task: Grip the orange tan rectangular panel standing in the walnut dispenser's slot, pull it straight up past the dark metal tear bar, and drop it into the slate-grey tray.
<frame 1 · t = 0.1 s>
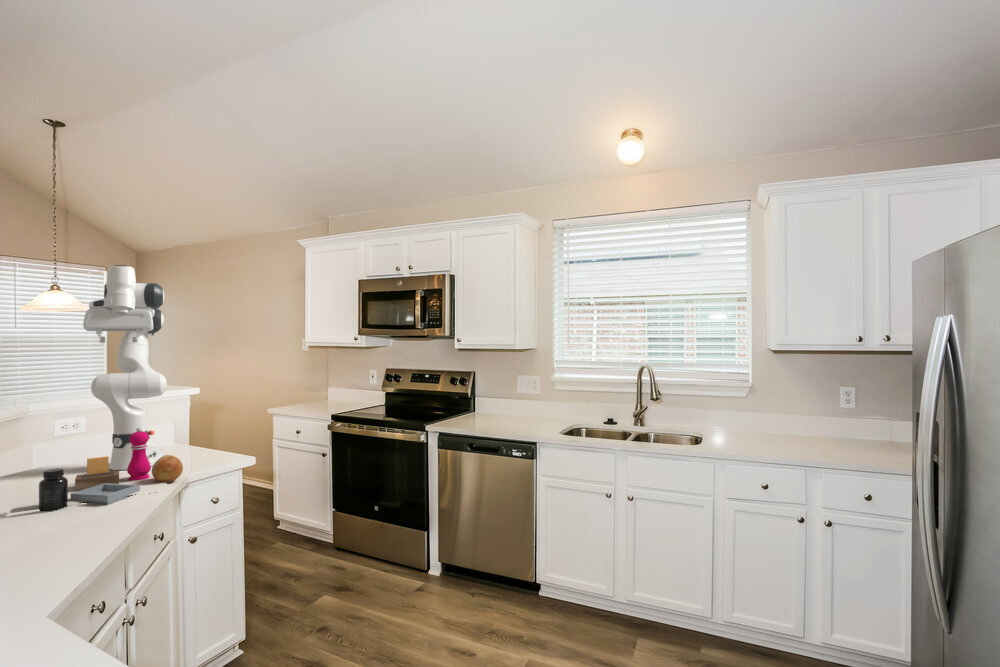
hand: (118, 342, 184), 52 cm above the worktop, tool tilted 20°, fingers open, 8 cm apart
supplement bottle: (53, 509, 162), on the worktop
tray: (106, 498, 172), on the worktop
onion: (167, 482, 191), on the worktop
orange tan rectangular panel: (97, 485, 183), point 1 cm above the worktop, touching dispenser
dispenser: (97, 488, 183), on the worktop
pepper mill: (139, 481, 193), on the worktop
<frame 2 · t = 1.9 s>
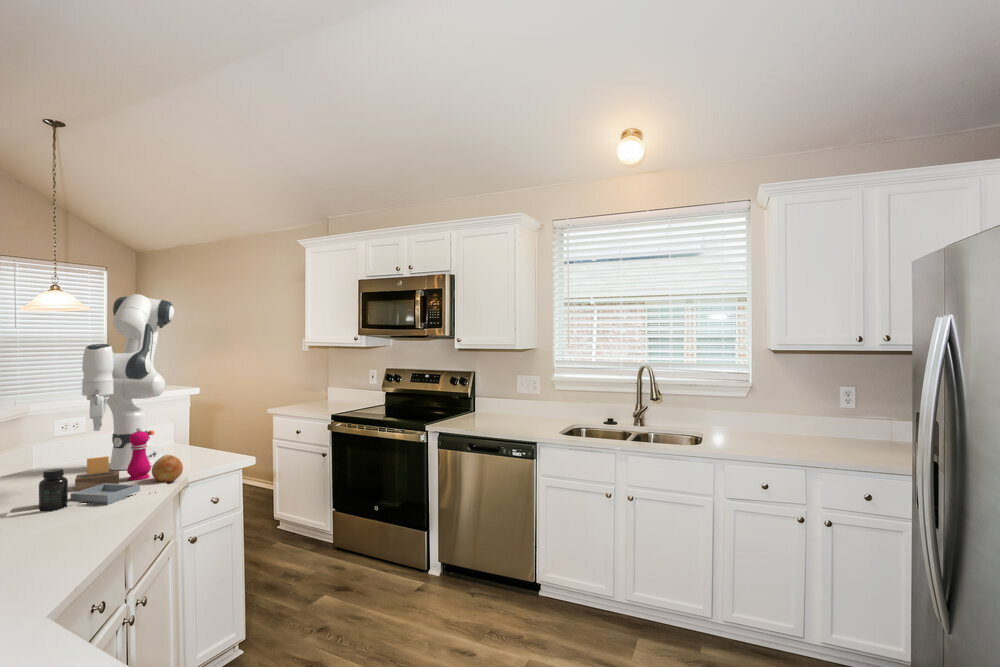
hand: (97, 428, 183), 21 cm above the worktop, tool pointing down, fingers open, 8 cm apart
nothing on the worktop moved.
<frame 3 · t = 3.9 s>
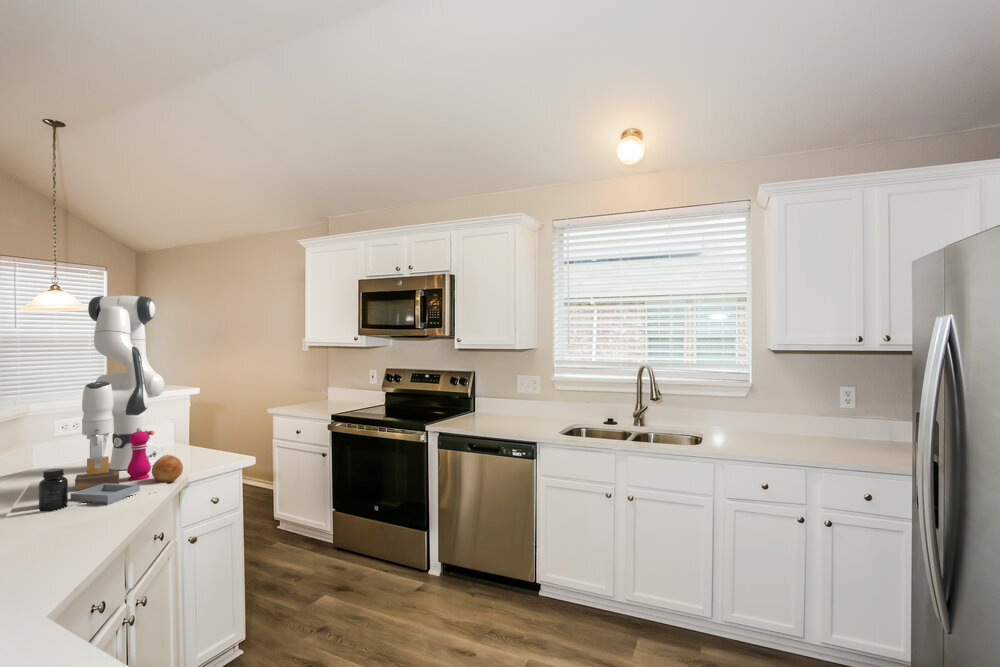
hand: (97, 467, 183), 8 cm above the worktop, tool pointing down, fingers closed on orange tan rectangular panel, 1 cm apart
orange tan rectangular panel: (97, 485, 183), point 1 cm above the worktop, touching dispenser, gripper
everything else where it was.
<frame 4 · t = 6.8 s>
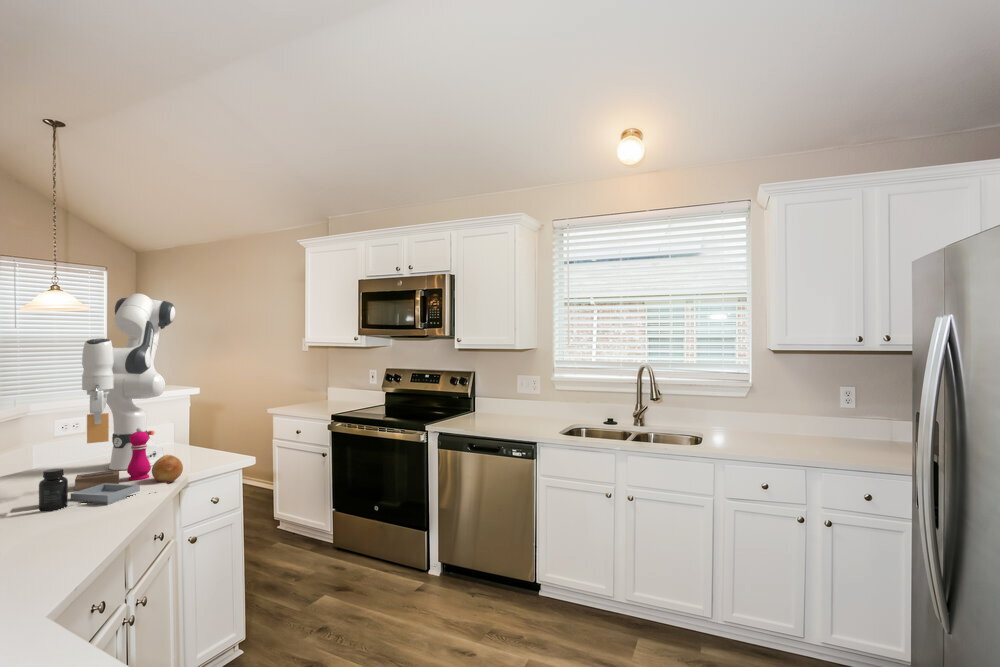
hand: (98, 423, 183), 23 cm above the worktop, tool pointing down, fingers closed on orange tan rectangular panel
orange tan rectangular panel: (97, 442, 183), point 17 cm above the worktop, touching gripper
everything else where it was.
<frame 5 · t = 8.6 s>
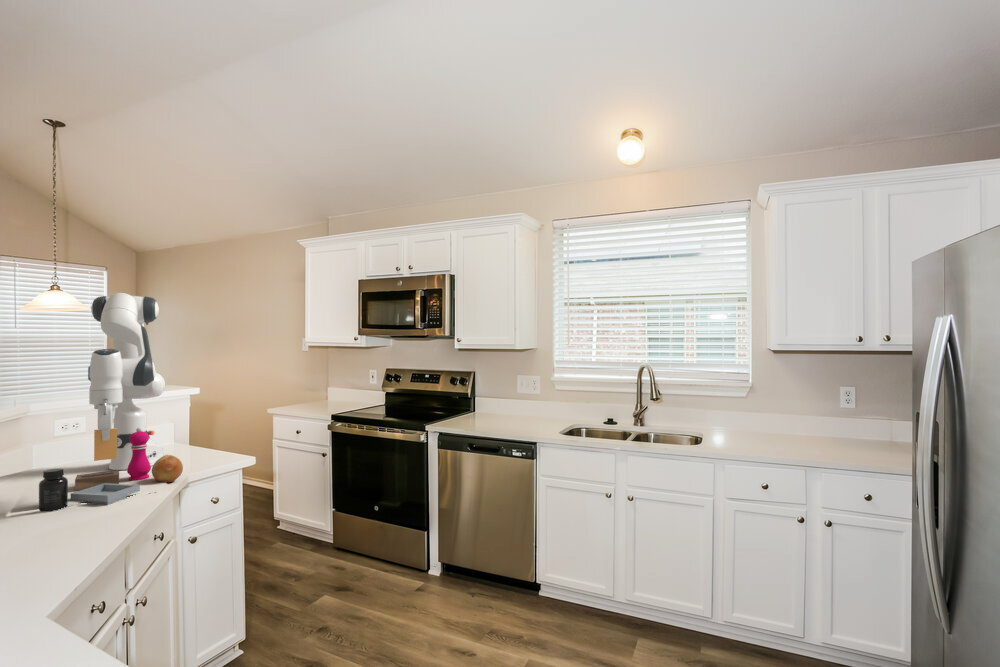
hand: (106, 439, 172), 20 cm above the worktop, tool pointing down, fingers closed on orange tan rectangular panel
orange tan rectangular panel: (105, 459, 172), point 13 cm above the worktop, touching gripper
everything else where it was.
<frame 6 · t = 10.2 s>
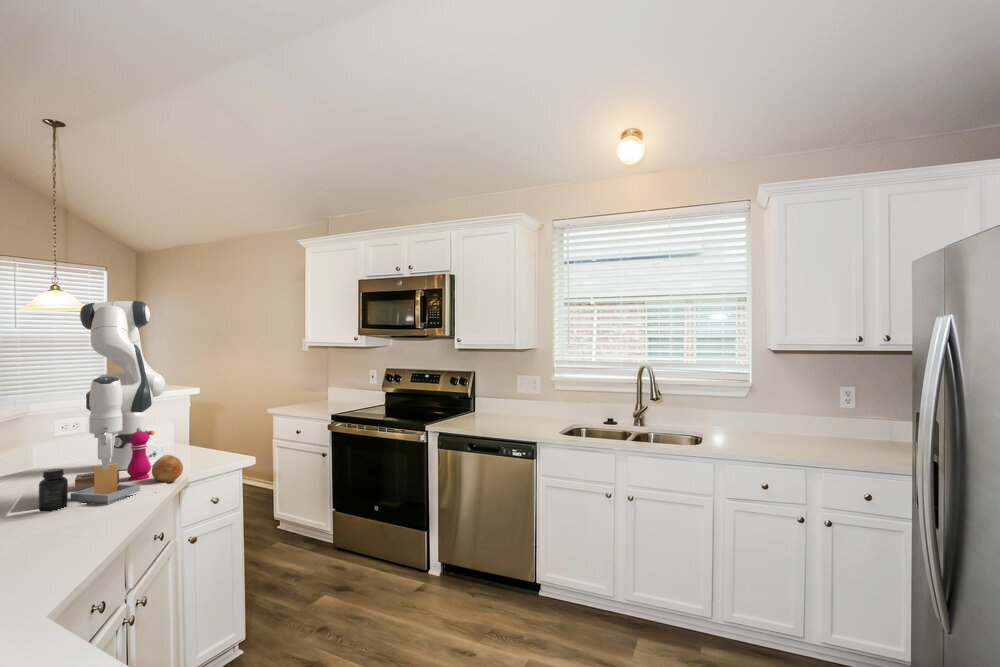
hand: (106, 467, 172), 10 cm above the worktop, tool pointing down, fingers open, 3 cm apart
orange tan rectangular panel: (105, 495, 172), point 1 cm above the worktop, touching tray
everything else where it was.
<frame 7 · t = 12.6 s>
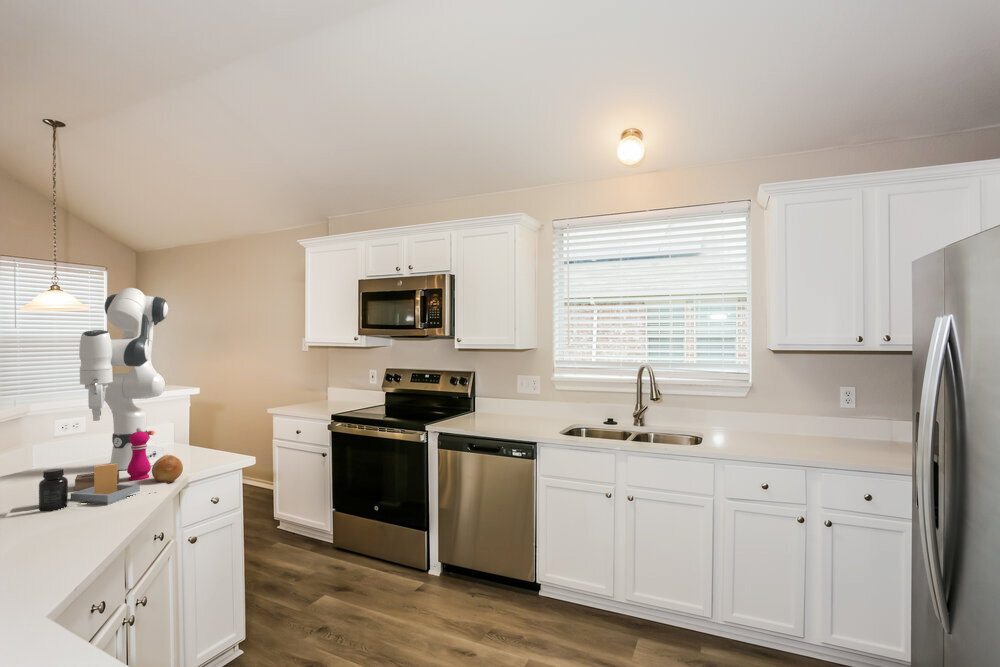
hand: (97, 418, 176), 26 cm above the worktop, tool pointing down, fingers open, 8 cm apart
nothing on the worktop moved.
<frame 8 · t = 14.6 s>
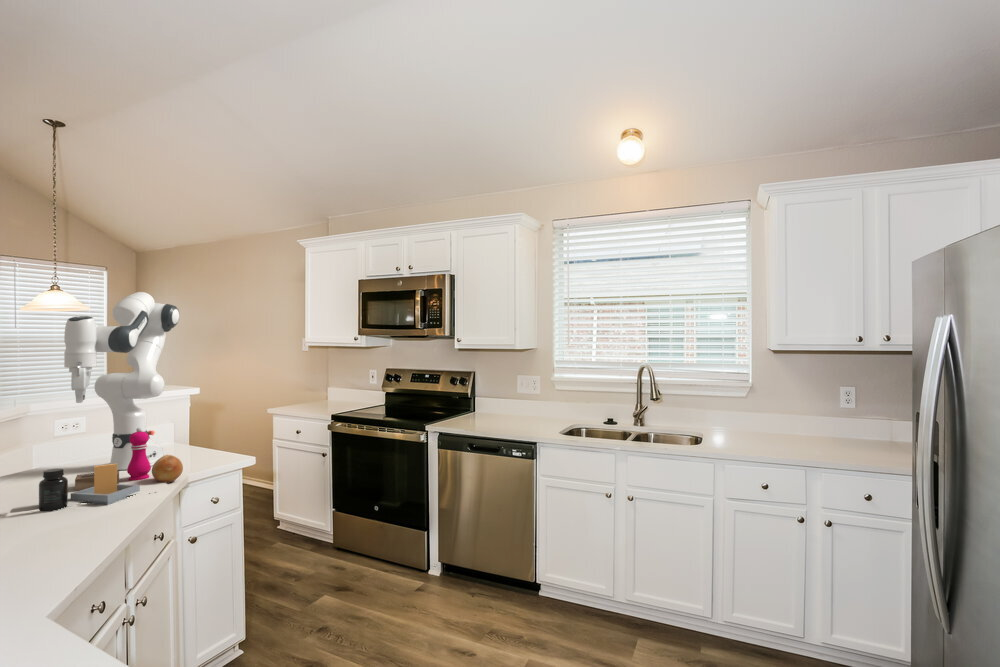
hand: (80, 401, 182), 31 cm above the worktop, tool pointing down, fingers open, 8 cm apart
nothing on the worktop moved.
at the end: orange tan rectangular panel inside the target area on the tray (0.1 cm from its centre), point 1.0 cm above the tray's base; the gripper is holding nothing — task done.
